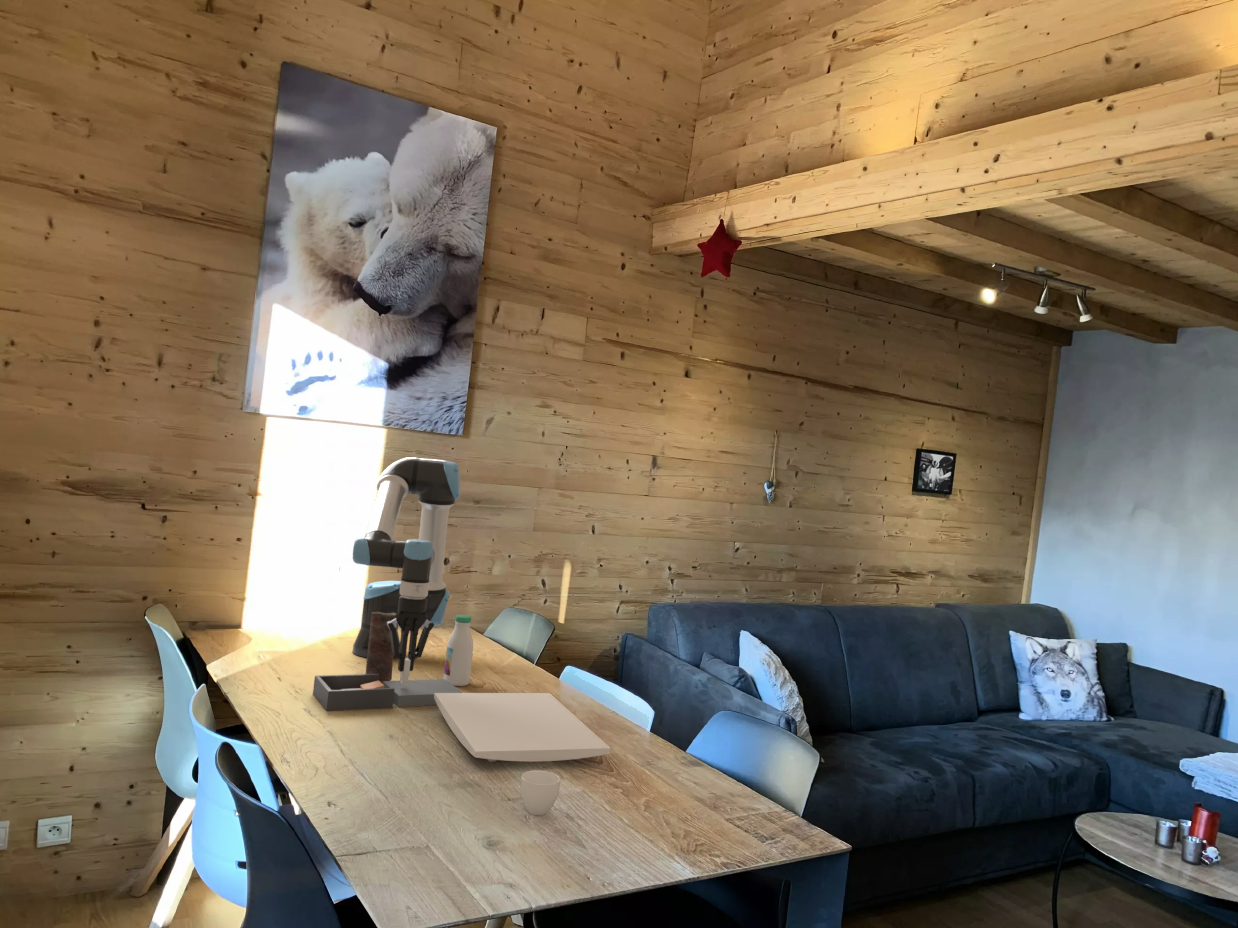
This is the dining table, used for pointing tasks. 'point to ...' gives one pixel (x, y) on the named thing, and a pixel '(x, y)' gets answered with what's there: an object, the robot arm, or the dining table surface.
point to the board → (518, 727)
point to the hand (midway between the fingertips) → (403, 682)
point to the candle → (380, 647)
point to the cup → (539, 791)
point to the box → (351, 692)
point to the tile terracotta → (372, 685)
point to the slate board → (419, 691)
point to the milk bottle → (459, 653)
